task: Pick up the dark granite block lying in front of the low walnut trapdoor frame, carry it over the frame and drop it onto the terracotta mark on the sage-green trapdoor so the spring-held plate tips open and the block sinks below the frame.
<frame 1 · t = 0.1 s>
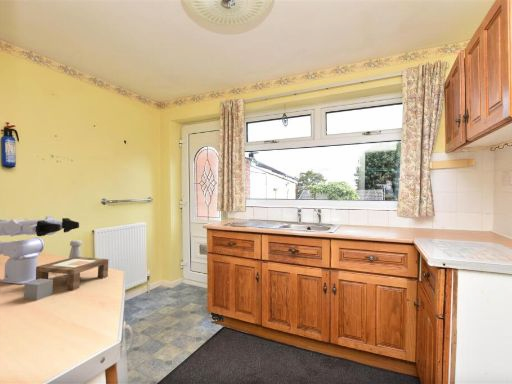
hand: (69, 226, 93), 22 cm above the table, tool horizontal, fingers open, 7 cm apart
trapdoor frame: (73, 280, 97), on the table
trapdoor: (74, 263, 97), point 7 cm above the table, hinge at 0.0°
salt shaker: (74, 270, 111), on the table
stone: (38, 296, 82), on the table
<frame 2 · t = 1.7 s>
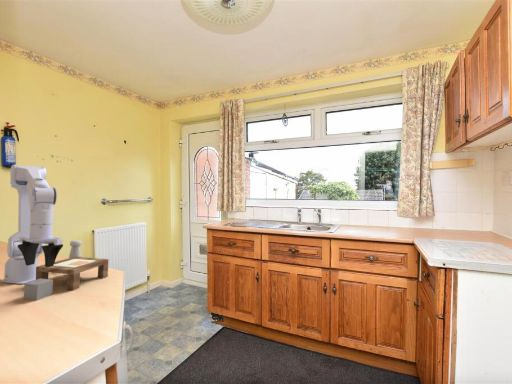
hand: (39, 265, 82), 10 cm above the table, tool pointing down, fingers open, 7 cm apart
nothing on the table moved.
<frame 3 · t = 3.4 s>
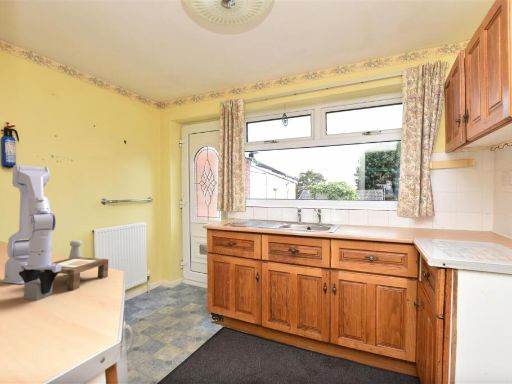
hand: (38, 292, 82), 1 cm above the table, tool pointing down, fingers closed on stone, 5 cm apart
stone: (38, 296, 82), on the table, touching gripper
everything else where it was.
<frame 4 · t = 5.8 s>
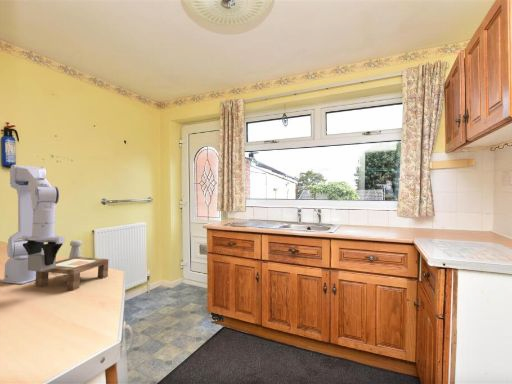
hand: (42, 264, 83), 10 cm above the table, tool pointing down, fingers closed on stone, 5 cm apart
stone: (41, 268, 83), point 9 cm above the table, touching gripper
everything else where it was.
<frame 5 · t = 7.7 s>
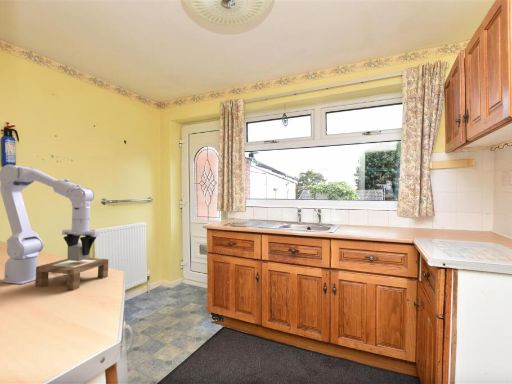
hand: (79, 254, 97), 10 cm above the table, tool pointing down, fingers closed on stone, 5 cm apart
stone: (78, 258, 97), point 9 cm above the table, touching gripper
everything else where it was.
when the fingers open (10 cm above the table, at t = 8.4 s): stone drops 4 cm, resting on trapdoor, trapdoor frame.
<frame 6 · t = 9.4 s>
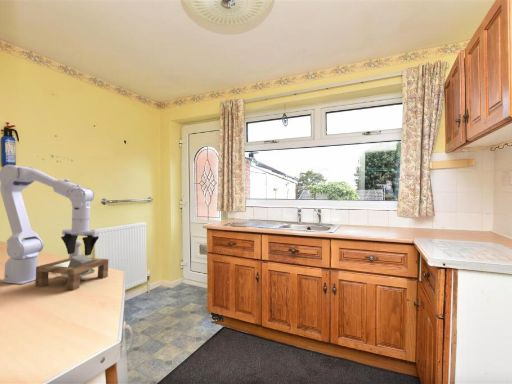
hand: (79, 254, 97), 10 cm above the table, tool pointing down, fingers open, 7 cm apart
trapdoor: (73, 269, 97), point 5 cm above the table, hinge at -21.6°, touching stone
stone: (78, 270, 97), point 4 cm above the table, tilted 21°, touching trapdoor, trapdoor frame
everything else where it was.
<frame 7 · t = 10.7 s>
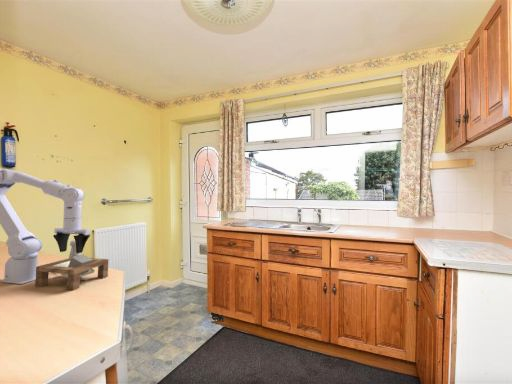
hand: (71, 252, 100), 10 cm above the table, tool pointing down, fingers open, 7 cm apart
nothing on the table moved.
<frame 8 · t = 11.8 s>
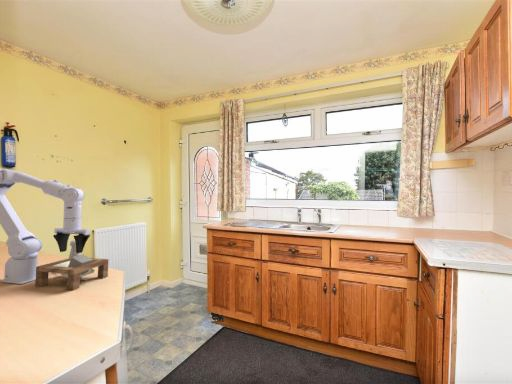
hand: (71, 252, 100), 10 cm above the table, tool pointing down, fingers open, 7 cm apart
nothing on the table moved.
at the end: stone inside the target area on the trapdoor frame (2.2 cm from its centre), point 4.3 cm above the trapdoor frame's base; stone point 4.3 cm above the table; the gripper is holding nothing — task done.
